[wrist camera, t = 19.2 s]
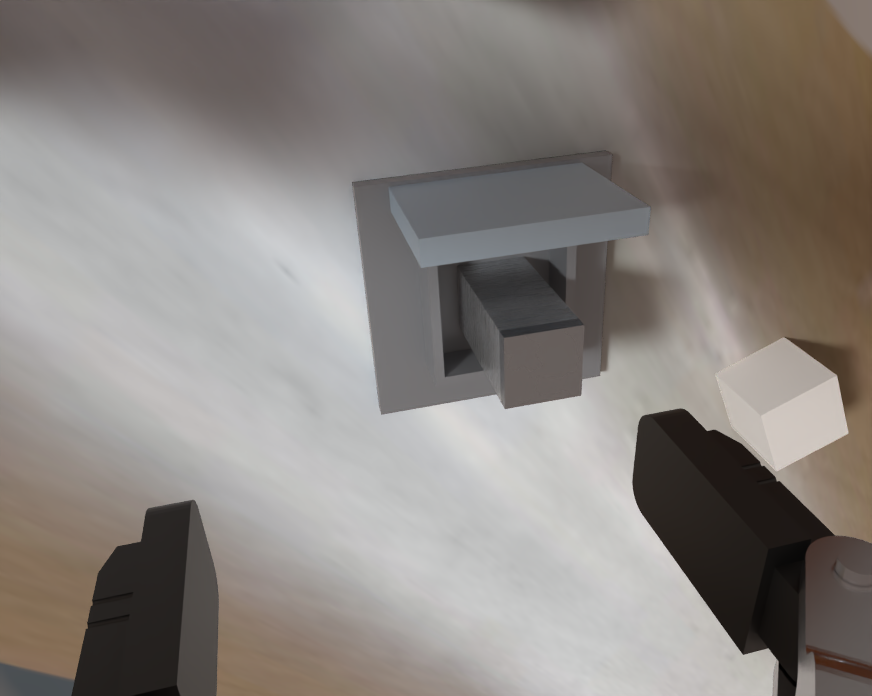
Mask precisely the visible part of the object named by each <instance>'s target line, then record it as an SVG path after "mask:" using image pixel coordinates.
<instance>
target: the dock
mask: <svg viewBox="0 0 872 696" xmlns="http://www.w3.org/2000/svg"><path fill="white" fill-rule="evenodd" d="M611 171H612V154H611V153H609V152H607V151H599V152H591V153H583V154H575V155H567V156H559V157H551V158H543V159H535V160H527V161H519V162H511V163H503V164H495V165H487V166H479V167H471V168H463V169H455V170H447V171H439V172H431V173H423V174H415V175H407V176H398V177H390V178H382V179H374V180H366V181H358V182H352V186H353V194H354V202H355V210H356V219H357V227H358V235H359V243H360V252H361V260H362V268H363V276H364V285H365V293H366V301H367V309H368V318H369V326H370V334H371V342H372V351H373V359H374V367H375V375H376V383H377V392H378V400H379V407H380V411H381V415H382V414H388V413H393V412H399V411H405V410H410V409H416V408H422V407H427V406H433V405H439V404H444V403H450V402H455V401H461V400H467V399H472V398H478V397H484V396H489V395H495V394H496V392H495V390H494V388H493V386H492V385H491V383H490V381H489V379H488V377H487V376H486V374H485V372H484V370H483V368H482V367H481V365H480V363H479V361H478V359H477V358H476V356H475V354H474V352H473V350H472V349H471V347H470V345H469V343H468V341H467V339H466V338H465V336H464V334H463V332H462V330H461V329H460V322H459V301H458V280H457V266H459V265H466V264H473V263H480V262H487V261H494V260H501V259H508V258H515V257H522V256H524V258H525V259H526V260H527V261H528V262H529V263H530V264H531V265H532V267H533V268H534V269H535V270H536V271H537V272H538V273H539V274H540V276H541V277H542V278H543V279H544V280H545V281H546V282H547V283H548V285H549V286H550V287H551V288H552V289H553V290H554V291H555V292H556V294H557V295H558V296H559V297H560V298H561V299H562V300H563V301H564V303H565V304H566V305H567V306H568V307H569V308H570V309H571V310H572V312H573V313H574V314H575V315H576V316H577V317H578V318H579V319H580V321H581V322H582V323H583V324H584V346H583V368H582V379H585V378H591V377H596V376H600V366H601V348H602V330H603V313H604V295H605V277H606V259H607V242H608V241H610V240H617V239H623V238H630V237H637V236H644V235H648V234H649V222H650V211H651V207H650V206H649V205H647V204H646V203H644V202H643V201H641V200H639V199H638V198H636V197H635V196H633V195H632V194H630V193H629V192H627V191H625V190H624V189H622V188H621V187H619V186H618V185H616V184H614V183H613V182H611Z"/></svg>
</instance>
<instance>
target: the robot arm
mask: <svg viewBox="0 0 872 696" xmlns="http://www.w3.org/2000/svg"><path fill="white" fill-rule="evenodd" d="M633 492H634V496H635V500H636V503H637V505H638V508H639V509H640V511H641V513H642V515H643V516H644V517H645V519H646V520H647V522H648V523H649V524H650V526H651V527H652V529H653V530H654V531H655V533H656V534H657V536H658V537H659V538H660V540H661V541H662V542H663V544H664V545H665V547H666V548H667V549H668V551H669V552H670V554H671V555H672V556H673V558H674V559H675V561H676V562H677V563H678V565H679V566H680V568H681V569H682V570H683V572H684V573H685V575H686V576H687V577H688V579H689V580H690V582H691V583H692V584H693V586H694V587H695V589H696V590H697V591H698V593H699V594H700V595H701V597H702V598H703V600H704V601H705V602H706V604H707V605H708V607H709V608H710V609H711V611H712V612H713V614H714V615H715V616H716V618H717V619H718V621H719V622H720V623H721V625H722V626H723V628H724V629H725V630H726V632H727V633H728V635H729V636H730V637H731V639H732V640H733V641H734V643H735V644H736V646H737V647H738V648H739V650H740V651H741V653H742V654H743V655H744V654H748V653H752V652H756V651H759V650H763V649H767V648H769V649H770V651H771V652H772V653H773V655H774V656H775V657H776V659H777V660H776V663H775V667H774V672H773V694H772V696H872V543H869V542H867V541H864V540H861V539H857V538H853V537H847V536H835V535H834V534H833V533H832V532H831V531H830V530H829V529H828V528H827V527H826V526H825V525H824V524H823V523H822V522H821V521H820V520H819V519H818V518H817V517H816V516H815V515H814V514H812V513H811V512H810V511H809V510H808V509H807V508H806V507H805V506H804V505H803V504H802V503H801V502H800V501H799V500H798V499H797V498H796V497H795V496H794V495H793V494H792V493H791V492H790V491H789V490H788V489H787V488H786V487H785V486H784V485H783V484H782V483H781V482H780V481H778V482H777V481H776V477H775V476H774V475H773V474H772V473H771V472H770V471H769V470H768V469H767V468H766V467H765V466H761V464H760V461H759V460H758V459H756V458H755V457H754V456H753V455H752V454H751V453H750V452H749V451H748V450H747V449H746V448H745V447H744V446H743V445H742V444H741V443H739V442H737V441H735V440H733V439H732V438H730V437H728V436H726V435H724V434H722V433H720V432H719V431H717V430H711V431H706V430H705V428H704V427H703V426H702V425H701V424H700V423H699V422H698V421H697V420H696V419H695V418H694V417H693V416H692V415H691V414H690V413H689V412H688V411H686V410H685V409H675V410H670V411H664V412H659V413H654V414H649V415H644V416H642V417H641V419H640V421H639V425H638V433H637V442H636V452H635V461H634V470H633ZM92 602H93V606H91V608H90V613H89V618H88V622H87V624H88V629H86V631H85V636H84V641H83V645H82V650H81V654H80V659H79V663H78V668H77V673H76V677H75V682H74V687H73V692H72V696H216V691H217V650H218V610H219V598H218V585H217V578H216V572H215V567H214V563H213V560H212V556H211V552H210V549H209V545H208V542H207V538H206V534H205V531H204V527H203V524H202V520H201V516H200V513H199V509H198V506H197V504H196V502H195V500H190V501H184V502H179V503H174V504H169V505H163V506H158V507H153V508H148V509H147V511H146V515H145V520H144V527H143V533H142V539H141V542H137V543H132V544H127V545H122V546H117V547H116V549H115V550H114V552H113V553H112V554H111V556H110V557H109V559H108V560H107V561H106V563H105V564H104V566H103V567H102V568H101V570H100V571H99V573H98V576H97V581H96V586H95V590H94V595H93V599H92Z"/></svg>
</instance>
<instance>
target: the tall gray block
mask: <svg viewBox="0 0 872 696" xmlns="http://www.w3.org/2000/svg"><path fill="white" fill-rule="evenodd" d="M457 280H458V301H459V322H460V329H461V330H462V332H463V334H464V336H465V338H466V339H467V341H468V343H469V345H470V347H471V349H472V350H473V352H474V354H475V356H476V358H477V359H478V361H479V363H480V365H481V367H482V368H483V370H484V372H485V374H486V376H487V377H488V379H489V381H490V383H491V385H492V386H493V388H494V390H495V392H496V394H497V396H498V397H499V399H500V401H501V403H502V405H503V406H504V408H505V409H508V408H513V407H519V406H524V405H530V404H536V403H541V402H547V401H553V400H558V399H564V398H569V397H575V396H581V389H582V368H583V346H584V324H583V323H582V322H581V321H580V319H579V318H578V317H577V316H576V315H575V314H574V313H573V312H572V310H571V309H570V308H569V307H568V306H567V305H566V304H565V303H564V301H563V300H562V299H561V298H560V297H559V296H558V295H557V294H556V292H555V291H554V290H553V289H552V288H551V287H550V286H549V285H548V283H547V282H546V281H545V280H544V279H543V278H542V277H541V276H540V274H539V273H538V272H537V271H536V270H535V269H534V268H533V267H532V265H531V264H530V263H529V262H528V261H527V260H526V259H525V258H524V256H522V257H515V258H508V259H501V260H494V261H487V262H480V263H473V264H466V265H459V266H457Z"/></svg>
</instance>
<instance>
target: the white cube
mask: <svg viewBox="0 0 872 696" xmlns="http://www.w3.org/2000/svg"><path fill="white" fill-rule="evenodd" d="M715 376H716V379H717V382H718V385H719V388H720V392H721V395H722V398H723V401H724V404H725V407H726V411H727V414H728V417H729V420H730V423H731V427H732V428H733V429H734V430H735V431H736V432H737V433H738V434H739V435H740V436H741V437H742V438H743V439H744V440H745V441H746V442H747V443H748V444H749V445H750V446H751V447H752V448H753V449H754V450H755V451H756V452H757V453H758V454H759V455H760V456H761V457H762V458H763V459H764V460H765V461H766V462H767V463H768V464H769V465H770V466H771V467H772V468H774V469H775V470H776V471H778V470H780V469H782V468H784V467H786V466H788V465H790V464H791V463H793V462H795V461H797V460H799V459H801V458H803V457H805V456H807V455H809V454H810V453H812V452H814V451H816V450H818V449H820V448H822V447H824V446H826V445H828V444H829V443H831V442H833V441H835V440H837V439H839V438H841V437H843V436H845V435H847V434H848V429H847V424H846V419H845V414H844V409H843V403H842V398H841V393H840V388H839V383H838V378H837V375H836V374H834V373H833V372H832V371H830V370H829V369H828V368H826V367H825V366H823V365H822V364H821V363H819V362H818V361H817V360H815V359H814V358H812V357H811V356H810V355H808V354H807V353H806V352H804V351H803V350H801V349H800V348H799V347H797V346H796V345H795V344H793V343H792V342H790V341H789V340H788V339H786V338H785V337H783V338H781V339H779V340H777V341H776V342H774V343H772V344H770V345H768V346H766V347H764V348H762V349H761V350H759V351H757V352H755V353H753V354H751V355H749V356H747V357H746V358H744V359H742V360H740V361H738V362H736V363H734V364H732V365H731V366H729V367H727V368H725V369H723V370H721V371H719V372H717V373H716V374H715Z"/></svg>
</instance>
